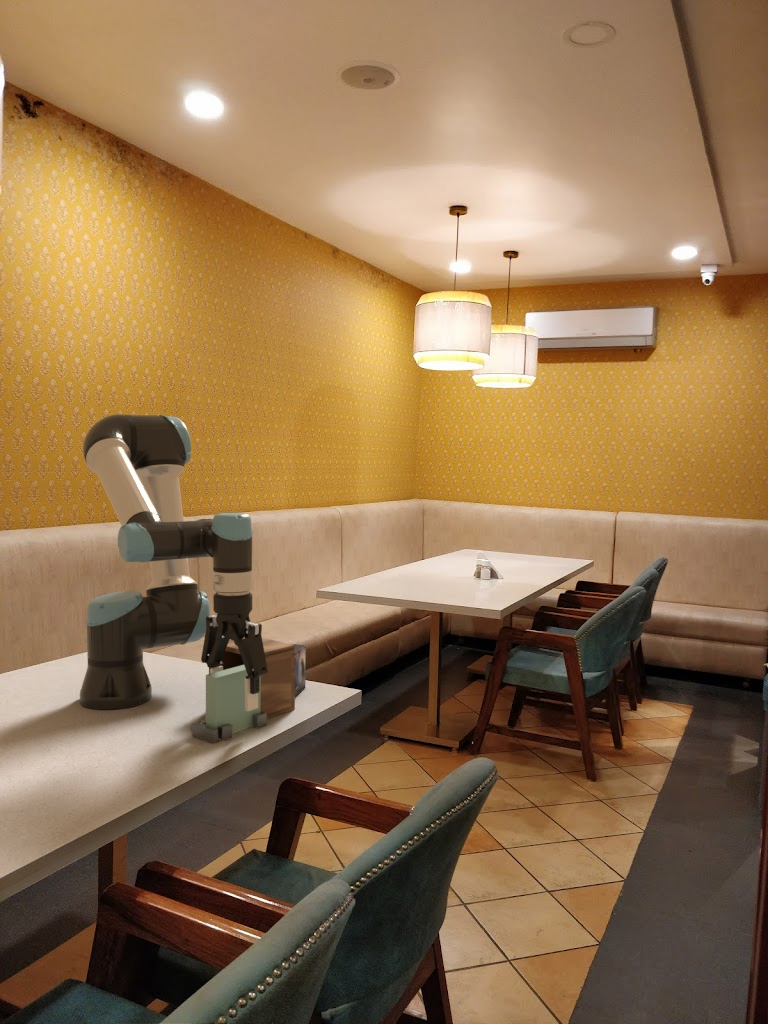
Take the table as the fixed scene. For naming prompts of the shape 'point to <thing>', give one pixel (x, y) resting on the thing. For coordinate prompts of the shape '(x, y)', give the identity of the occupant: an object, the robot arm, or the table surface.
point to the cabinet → (271, 675)
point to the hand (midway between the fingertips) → (233, 704)
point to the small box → (300, 668)
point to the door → (228, 699)
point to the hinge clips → (223, 729)
